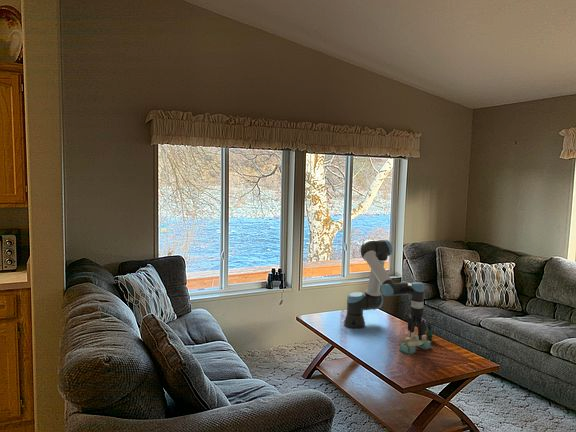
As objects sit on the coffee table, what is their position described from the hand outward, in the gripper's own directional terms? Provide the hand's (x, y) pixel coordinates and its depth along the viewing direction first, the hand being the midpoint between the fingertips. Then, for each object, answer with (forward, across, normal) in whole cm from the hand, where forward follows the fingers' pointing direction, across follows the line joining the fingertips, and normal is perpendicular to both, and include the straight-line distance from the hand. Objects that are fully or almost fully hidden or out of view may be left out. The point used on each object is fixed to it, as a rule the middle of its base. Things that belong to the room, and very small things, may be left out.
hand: (415, 343), depth 272 cm
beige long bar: (+1, 0, 0) cm, 1 cm away
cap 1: (+4, 0, -8) cm, 8 cm away
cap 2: (+4, 0, +8) cm, 8 cm away
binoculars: (+4, -7, +18) cm, 20 cm away
